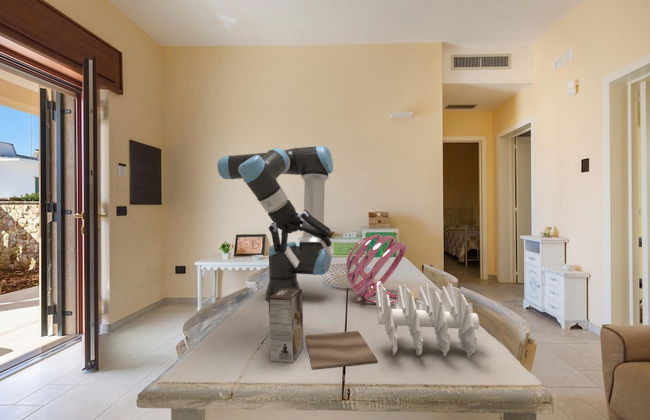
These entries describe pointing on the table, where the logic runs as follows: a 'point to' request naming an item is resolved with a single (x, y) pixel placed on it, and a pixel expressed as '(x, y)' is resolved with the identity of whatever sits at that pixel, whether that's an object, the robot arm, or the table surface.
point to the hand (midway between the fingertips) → (314, 259)
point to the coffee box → (286, 324)
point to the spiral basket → (367, 259)
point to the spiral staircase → (429, 316)
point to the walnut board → (338, 350)
